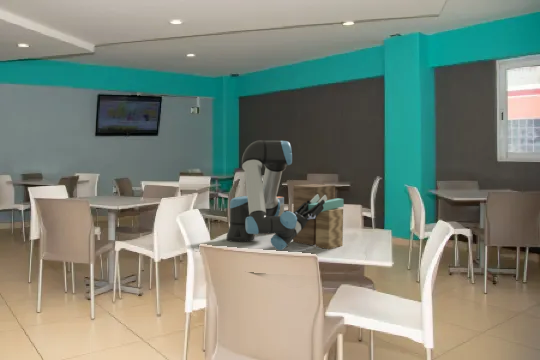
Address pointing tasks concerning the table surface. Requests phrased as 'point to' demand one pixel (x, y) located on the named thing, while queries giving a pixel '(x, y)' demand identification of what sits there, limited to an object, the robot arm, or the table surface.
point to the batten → (329, 204)
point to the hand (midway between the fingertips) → (322, 196)
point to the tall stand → (299, 197)
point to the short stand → (329, 228)
